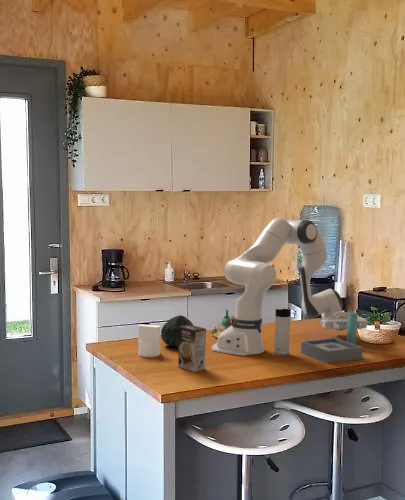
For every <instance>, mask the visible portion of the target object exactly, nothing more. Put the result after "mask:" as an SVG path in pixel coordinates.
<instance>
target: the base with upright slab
mask: <svg viewBox="0 0 405 500" xmlns="http://www.w3.org/2000/svg"><path fill="white" fill-rule="evenodd" d="M160 355H161V325H153V324H142V323H140V324H139V325H138V356H140V357H144V358H155V357H158V356H160Z"/></svg>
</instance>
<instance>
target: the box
mask: <svg viewBox="0 0 405 500" xmlns="http://www.w3.org/2000/svg"><path fill="white" fill-rule="evenodd" d="M330 342H335V343H338V344H341V345H343V346H346V347H349V348H346V349H338V350H330V351H328V350H325V349H323V348H320V347H317V346H315V345H313V344H321V343H330ZM300 343H301V344H300V353H301V354H303V355H305V356H307V357H310V358H312V359H315V360H318V361H320V362H323V363H325V364H327V365H328V364H335V363H336V364H337V363H342V362H350V361H357V360H363V348H364V347H363V346H360V345H357V344H356V345H355V344H352V343H349V342H347V340H346V341H345V340H343V339H340V338H337V337H329V338H320V339H312V340H303V341H301V342H300Z"/></svg>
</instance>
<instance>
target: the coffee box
mask: <svg viewBox="0 0 405 500" xmlns="http://www.w3.org/2000/svg"><path fill="white" fill-rule="evenodd" d="M206 341H207V328H205V327H201V326H198V325H195V324H193V325H184V326H179V348H178V358H177V359H178V361H177V362H178V363H177V366H178V367H177V368H181V369H183V370H186V371H190V372H193V373H196V372H199V370H200V371H203V369H204V370H205V369H206V367H205V366H206V347H207V346H206Z"/></svg>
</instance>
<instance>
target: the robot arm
mask: <svg viewBox="0 0 405 500" xmlns="http://www.w3.org/2000/svg"><path fill="white" fill-rule="evenodd" d="M285 244H290V245H299V246H300V251H301V255H302V261H301V264H300V265H299V268H298V275H299V276H298V277H299V286H300V295H301V309H302V312H303V314H304V315H305V316H306V317H308V318H312V319H314V318H316V317H318V316H320V315H321V318H322V319H321V320H319V321H318V322H319V324H321V325H322V326H321V327H322V328H324V329H327V330H329V329H330V330H335V331H340V332H341V331H344V330H346V331H347V322H348V313H349V312H345V311H343V307H344V304H343V300H342V297H341V295H340V293H339V292H338V291H337V290H335V289H333V288H328V289H325V290H323V291H320V292H317V293H315V294H312V291H311V283H310V282H311V280H312V279H311V278H312V277H313V276H314V275H315V274H316V273H317V272H318V271H319V270H320V269H322V268H323V267H324V266H325V263H326V262H327V259H328V253H327V247H326V245H325V241H324V239H323V237H322V235H321V233H320V231H319V229H318V228H317V226H316V224H315V223H314V222H313V221H311V220H308V219H288V220H286V219H284V218H282V217H275V218H273V219H272V220H271V221H270V222H269V223H268V224H267V225H266V226H265V227H264V229H263V230H262V231H261V233H260V234H259V235H258V236H257V239H256V240H255V242H253V244H252V245H251V246H250V247H249V248H248V249H247V250H246V251H244V252H243V253H241V255H239V256H238V257H236V258H234V259H231V260H229V261H227V263H226V264H225V266H224V269H223V270H224V273H223V274H224V277H225V279H226V280H227V281H229V282H231V283H232V284H235V285H240V286H245V287H244V291H243V294H241V295H240V296H238V297H237V298H236V300H235V315H234V316H233V317H231V318H232V319H231V318H230V319H231V322H230V323H231V326H230V327H229V328H227V329H224V330H223V331H222V333H221V334H220V335H219V337H218V338H217V342H216V343H214V344H213V345H211V351H212V352H216V353H224V354H228V355H229V354H231V355H235V356H244V357H245V356H249V355H251V356H252V355H260V354H262V353H264V352H265V348H264V344H263V336H262V335H263V334H262V332H263V318H262V314H263V313H262V311H263V301H264V297H265V295H266V293H267V291H269V289H270V288H271V287H272V286H273V285H274V284H275V282H276V280H277V270H276V269H275V267H274V266H273V265H271V264H269V263H271V262H274V260H275V259H276V258H277V256H278V254H279V253H280V251H281V250H282V248H283V247H284V245H285ZM366 327H367V328H368V320H367V319H366V318H365V317H362V316H359V314H358V313H357V330H362V329H363V330H364V329H365V330H366V329H367V328H366Z"/></svg>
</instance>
